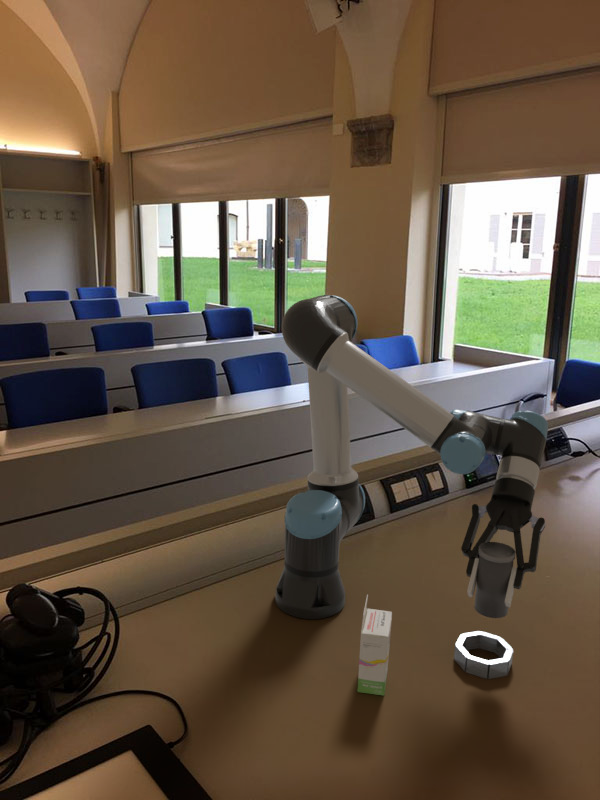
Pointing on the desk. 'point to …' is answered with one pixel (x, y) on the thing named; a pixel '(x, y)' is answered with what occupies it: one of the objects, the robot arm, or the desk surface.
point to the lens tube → (493, 578)
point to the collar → (481, 665)
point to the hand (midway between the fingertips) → (488, 599)
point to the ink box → (374, 651)
